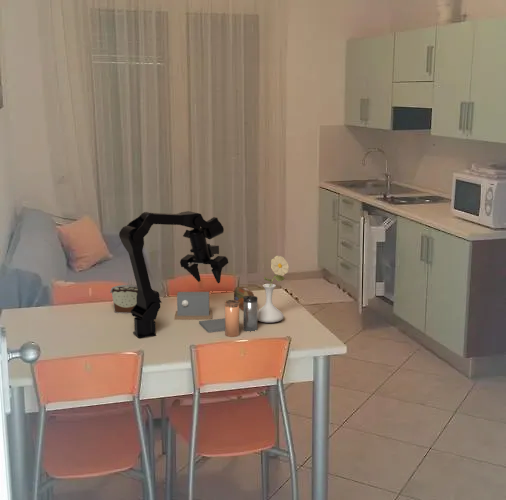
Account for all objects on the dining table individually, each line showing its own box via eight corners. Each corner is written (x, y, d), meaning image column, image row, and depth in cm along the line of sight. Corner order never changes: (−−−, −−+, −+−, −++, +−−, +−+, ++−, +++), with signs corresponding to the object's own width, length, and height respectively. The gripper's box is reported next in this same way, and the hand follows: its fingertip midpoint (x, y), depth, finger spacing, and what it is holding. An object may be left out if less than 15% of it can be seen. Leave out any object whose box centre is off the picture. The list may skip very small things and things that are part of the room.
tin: (233, 304, 282) (233, 284, 280) (240, 303, 283) (240, 283, 282) (248, 314, 269) (248, 293, 267) (255, 313, 270) (256, 292, 268)
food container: (145, 309, 275) (145, 284, 273) (141, 313, 269) (141, 288, 267) (115, 308, 276) (114, 283, 274) (110, 312, 270) (110, 287, 268)
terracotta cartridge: (228, 337, 242) (228, 304, 239) (222, 333, 246) (222, 301, 244) (241, 335, 244) (241, 303, 242) (235, 331, 248) (235, 299, 246)
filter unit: (174, 319, 262) (174, 296, 260) (176, 313, 270) (175, 290, 268) (211, 319, 262) (211, 296, 260) (211, 313, 270) (211, 290, 268)
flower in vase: (258, 326, 254) (259, 260, 249) (250, 317, 265) (250, 253, 260) (292, 323, 258) (293, 258, 253) (282, 314, 269) (283, 251, 263)
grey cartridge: (247, 332, 248) (247, 300, 245) (241, 328, 252) (241, 296, 249) (259, 330, 250) (259, 298, 247) (253, 326, 254) (253, 295, 252)
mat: (208, 332, 247) (208, 330, 247) (199, 323, 257) (199, 321, 257) (237, 329, 251) (237, 326, 251) (227, 320, 261) (227, 318, 261)
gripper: (231, 235, 254) (240, 273, 260) (192, 234, 264) (201, 271, 270) (214, 248, 245) (224, 287, 251) (174, 247, 256) (184, 284, 262)
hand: (209, 282), depth 259 cm, fingers open, 9 cm apart
